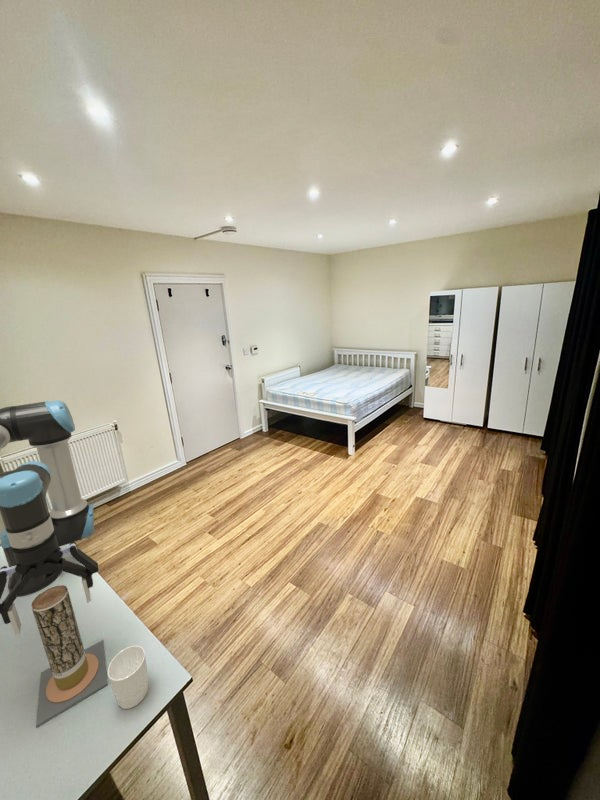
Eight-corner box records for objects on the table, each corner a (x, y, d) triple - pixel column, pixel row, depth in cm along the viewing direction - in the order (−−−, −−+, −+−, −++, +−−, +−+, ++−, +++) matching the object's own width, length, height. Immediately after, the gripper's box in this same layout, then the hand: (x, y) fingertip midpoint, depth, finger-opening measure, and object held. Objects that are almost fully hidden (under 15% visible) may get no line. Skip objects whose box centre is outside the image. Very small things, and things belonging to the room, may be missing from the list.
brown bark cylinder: (71, 694, 75) (47, 611, 69) (49, 688, 76) (23, 607, 70) (95, 664, 81) (74, 587, 75) (74, 659, 83) (52, 583, 77)
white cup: (142, 668, 81) (136, 638, 79) (157, 689, 76) (150, 658, 74) (110, 696, 75) (102, 665, 73) (123, 721, 70) (115, 688, 68)
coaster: (41, 674, 81) (40, 670, 80) (103, 641, 89) (102, 638, 88) (36, 728, 70) (35, 724, 69) (108, 685, 78) (107, 681, 77)
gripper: (-52, 577, 59) (-20, 659, 64) (99, 524, 73) (116, 596, 79) (-41, 554, 65) (-13, 632, 70) (97, 510, 79) (112, 577, 84)
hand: (55, 613), depth 74 cm, fingers open, 13 cm apart
